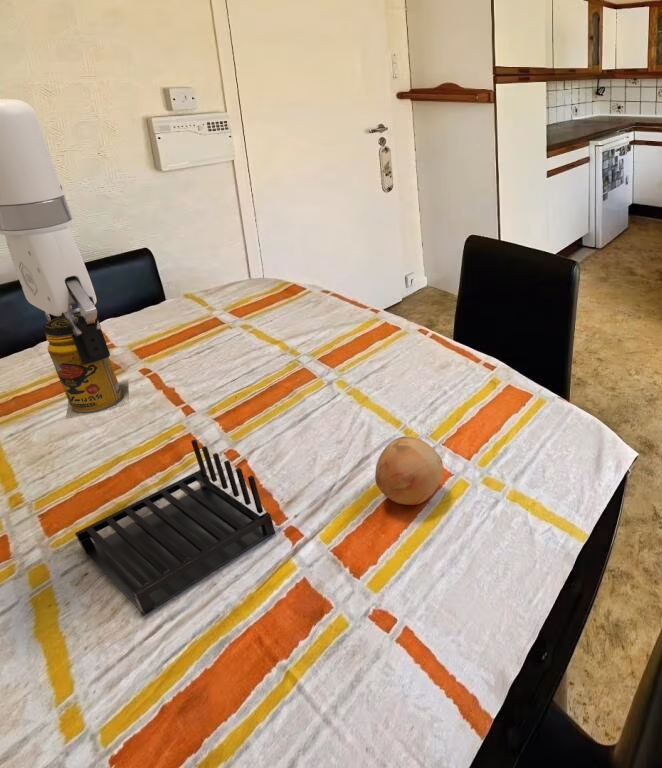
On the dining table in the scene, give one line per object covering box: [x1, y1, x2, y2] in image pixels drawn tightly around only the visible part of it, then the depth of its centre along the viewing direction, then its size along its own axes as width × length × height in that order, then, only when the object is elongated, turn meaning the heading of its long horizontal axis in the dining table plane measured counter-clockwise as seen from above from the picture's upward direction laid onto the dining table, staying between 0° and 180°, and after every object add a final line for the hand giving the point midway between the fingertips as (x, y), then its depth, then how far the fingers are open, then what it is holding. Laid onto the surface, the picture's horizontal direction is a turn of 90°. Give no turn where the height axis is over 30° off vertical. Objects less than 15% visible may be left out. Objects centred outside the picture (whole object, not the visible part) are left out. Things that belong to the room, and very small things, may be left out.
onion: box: [374, 436, 444, 506], centre depth 91 cm, size 10×10×10 cm
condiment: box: [42, 313, 130, 420], centre depth 82 cm, size 7×8×12 cm
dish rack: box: [74, 439, 276, 616], centre depth 84 cm, size 18×18×9 cm
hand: (84, 352), depth 81 cm, fingers closed on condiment, 6 cm apart
